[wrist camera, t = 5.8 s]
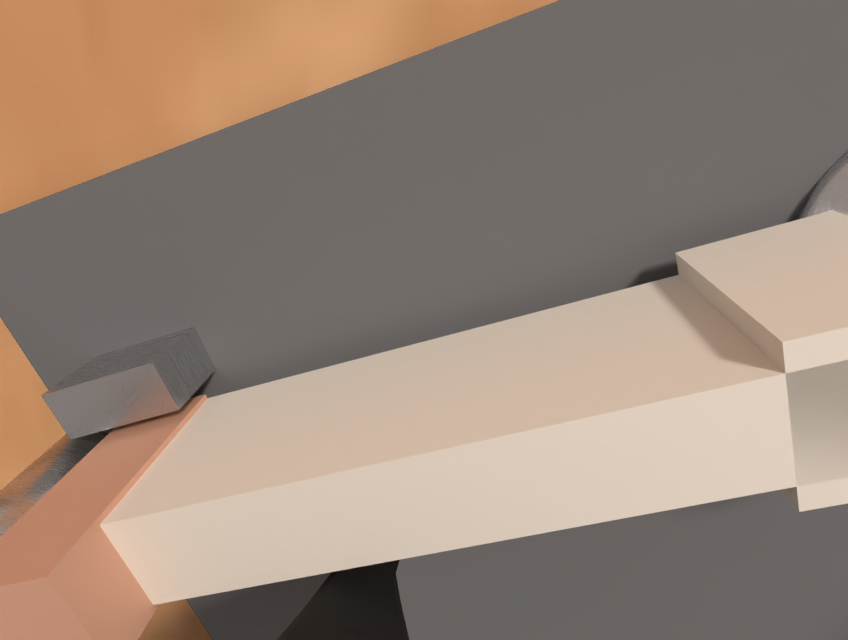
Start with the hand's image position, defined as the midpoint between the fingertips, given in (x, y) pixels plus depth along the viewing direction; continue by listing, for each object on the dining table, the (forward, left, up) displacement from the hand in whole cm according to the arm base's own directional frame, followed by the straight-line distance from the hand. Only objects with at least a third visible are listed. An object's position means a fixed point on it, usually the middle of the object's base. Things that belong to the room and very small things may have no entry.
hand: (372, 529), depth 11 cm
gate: (-2, -2, -1) cm, 4 cm away
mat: (-3, +3, -2) cm, 5 cm away
